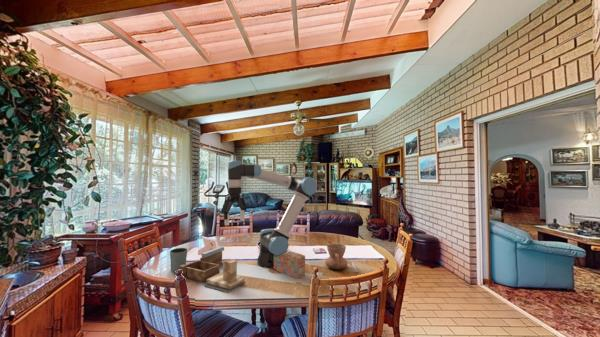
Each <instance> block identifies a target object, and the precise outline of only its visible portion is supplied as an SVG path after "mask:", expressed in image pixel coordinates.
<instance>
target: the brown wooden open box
mask: <svg viewBox="0 0 600 337" xmlns="http://www.w3.org/2000/svg"><path fill="white" fill-rule="evenodd" d="M221 264H223V251H221V252H219V253H216V254H213V255H211V256H208V257H205V258H203V257H202V256H201V257H200V258H199V259H198V260H195V261H192V262H190V263H186V265H180V266H179V269H182V271H183V273H182V275H183V276H184V277H185V278H186V279H188V278H189V280H193V281H196V282H199V283H207V282H206V279H208V278H210V277H212V276H214V275H217V274H219V273H221V271H220V270H221Z"/></svg>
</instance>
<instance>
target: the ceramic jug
mask: <svg viewBox="0 0 600 337" xmlns="http://www.w3.org/2000/svg"><path fill="white" fill-rule="evenodd" d="M346 247H347V246H346V245H345V244H343V243H336V242H335V243H334V242H333V243H328V244H327V245H326V249H327V252H328V254H329V257H327V258H326V259H325V262H324V263H325V266H326V267H327V268H330V269H332V270H338V271H339V270H344V269H346V268H347V266H348V265H349V264H348V261H347V259H345V258H344V255H345V253H346Z"/></svg>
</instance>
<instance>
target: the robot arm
mask: <svg viewBox="0 0 600 337" xmlns="http://www.w3.org/2000/svg"><path fill="white" fill-rule="evenodd" d="M227 167H228V168H227V173H228V174H227V176H228V177H227V180H228V183H227V185H228V187H227V188H228V189H227V190H228V191H227V192H228V193H227V194H228V195H225V197H224V203H223V205H222V208H221V210H220V213H221V214H222V215H223V220H224V226H230V213H229V212H230V211H231V209H232V207H233V205H234V204H236V203H237V205H238V207H239V208H240V210H239V221H240V222H244V221H245V214H246V213H245V212H246V211H247V208H248V206H247V203H246V200H245V197H244V195H245V194H243V193H242V178H243V177H244V178H245V177H246V178H249V179H253V180H256V181H257V180H258V181H261V182H264V183H269V184H271V185H277V186H279V187H283V188H284V189H286V190H289V191H292V192H293V196H292V198H291V200H290V202H289V203H288V206H287V207H286V210H285V212H284V213H283V216H282V217H281V220H280V221H279V223H278V225H277V227H275V228H264V229H261V230H260V232H259V254H258V257H257V260H256V262H257V265H258V266H259V267H264V268H269V267H270V268H271V267H274V260H273V258H274V255H281V254H284V253H287V251H288V249H289V240H290V238H291V236H290V232H291V231H292V228H293V226H294V224H295V223H296V220H297V218H298V216H299V214H300V213H301V210H302V209H303V207H304V205H305V203H306V202H307V201H308V200H310V197H311V196H312V195H314V194H316V192H317V190H318V184H317V181H316V180H315V178H313V177H310V176H305V177H304V176H291V175H288V176H286V175H283V174H279V173H275V172H272V171H267V170H266V169H262V166H261V164H255V163H254V164H252V163H251V164H250V163H249V164H248V163H247V164H244V163H242V161H241V160H230V161H229V162H228V165H227Z"/></svg>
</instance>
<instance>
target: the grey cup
mask: <svg viewBox="0 0 600 337" xmlns="http://www.w3.org/2000/svg"><path fill="white" fill-rule="evenodd" d="M169 257H170V258H169V259H170V271H171V272H174V271H176V270H178V269H179V266H180V265H187V257H188V248H187V247H176V248H172V249H171V250H169Z"/></svg>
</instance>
